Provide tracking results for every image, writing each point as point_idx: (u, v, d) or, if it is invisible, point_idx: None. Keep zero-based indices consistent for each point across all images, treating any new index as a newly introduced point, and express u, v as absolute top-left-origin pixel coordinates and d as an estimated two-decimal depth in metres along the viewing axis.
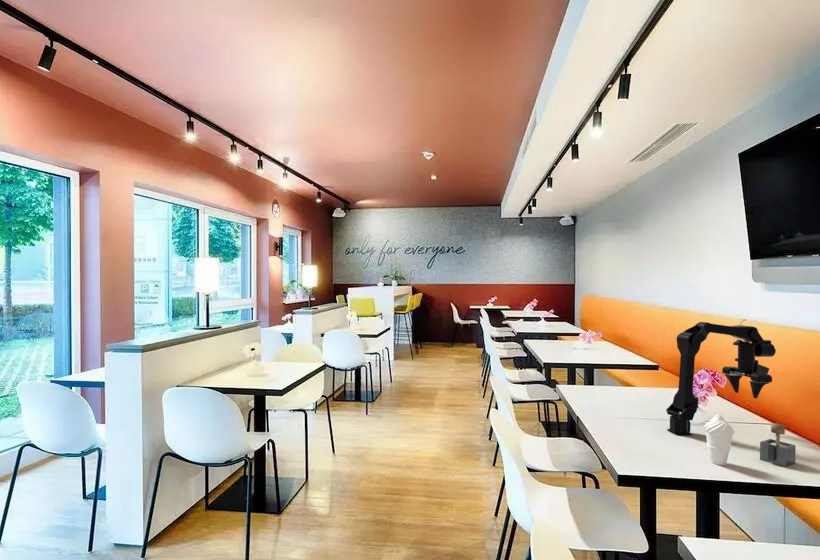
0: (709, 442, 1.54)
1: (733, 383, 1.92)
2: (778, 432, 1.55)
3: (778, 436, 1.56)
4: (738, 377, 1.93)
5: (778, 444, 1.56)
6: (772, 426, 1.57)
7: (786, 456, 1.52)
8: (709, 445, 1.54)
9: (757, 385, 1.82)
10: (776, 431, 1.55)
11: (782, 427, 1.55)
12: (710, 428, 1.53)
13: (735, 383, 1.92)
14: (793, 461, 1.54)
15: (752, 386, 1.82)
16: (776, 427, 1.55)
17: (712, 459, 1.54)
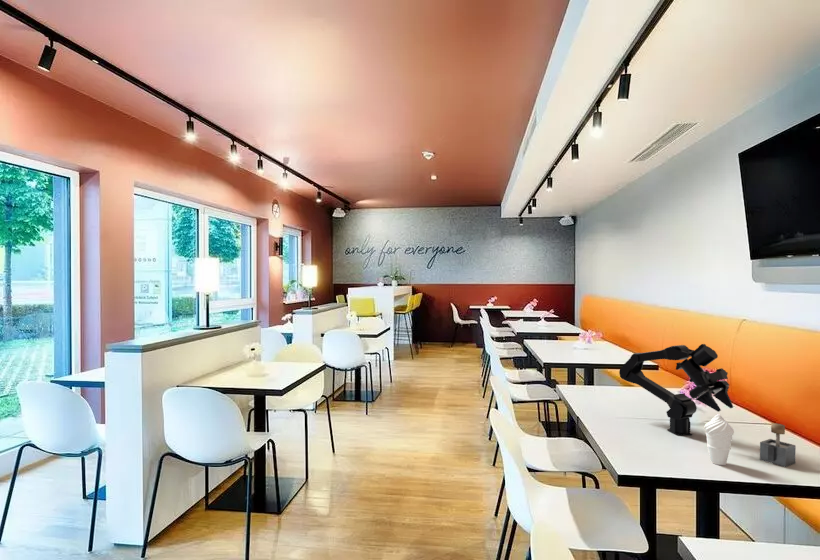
0: (709, 442, 1.54)
1: (721, 400, 1.76)
2: (778, 432, 1.55)
3: (778, 436, 1.56)
4: (722, 391, 1.76)
5: (778, 444, 1.56)
6: (772, 426, 1.57)
7: (786, 456, 1.52)
8: (709, 445, 1.54)
9: (706, 398, 1.71)
10: (776, 431, 1.55)
11: (782, 427, 1.55)
12: (710, 428, 1.53)
13: (723, 399, 1.76)
14: (793, 461, 1.54)
15: None
16: (776, 427, 1.55)
17: (712, 459, 1.54)
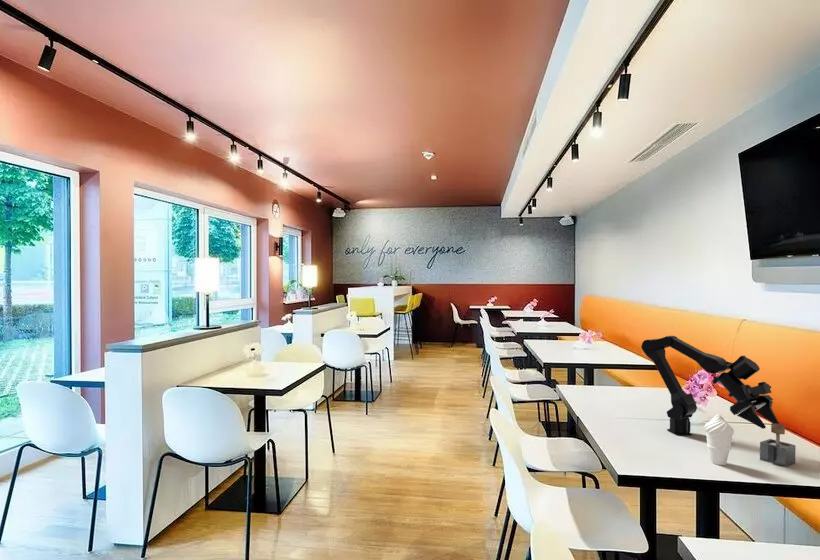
0: (709, 442, 1.54)
1: (765, 416, 1.64)
2: (778, 432, 1.55)
3: (778, 436, 1.56)
4: (766, 406, 1.64)
5: (778, 444, 1.56)
6: (772, 426, 1.57)
7: (786, 456, 1.52)
8: (709, 445, 1.54)
9: (749, 414, 1.59)
10: (776, 431, 1.55)
11: (782, 427, 1.55)
12: (710, 428, 1.53)
13: (767, 415, 1.63)
14: (793, 461, 1.54)
15: None
16: (776, 427, 1.55)
17: (712, 459, 1.54)
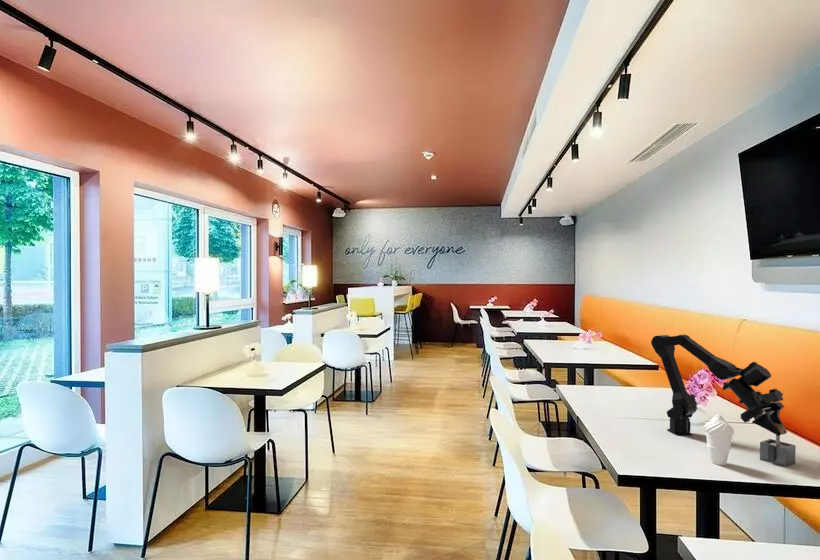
0: (709, 442, 1.54)
1: None
2: None
3: (778, 436, 1.56)
4: (773, 415, 1.60)
5: (778, 444, 1.56)
6: None
7: (786, 456, 1.52)
8: (709, 445, 1.54)
9: (764, 421, 1.57)
10: None
11: (782, 427, 1.55)
12: (710, 428, 1.53)
13: None
14: (793, 461, 1.54)
15: None
16: None
17: (712, 459, 1.54)
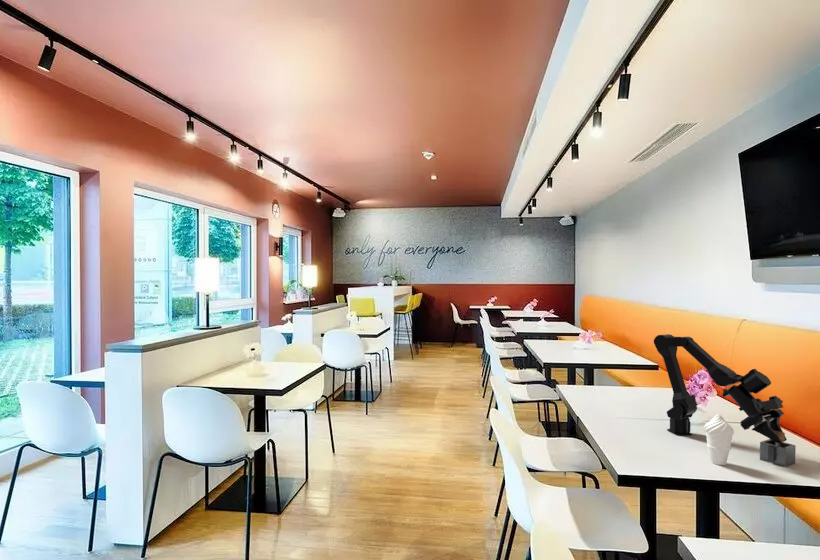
0: (709, 442, 1.54)
1: None
2: None
3: (778, 443, 1.56)
4: (773, 422, 1.60)
5: None
6: None
7: (786, 456, 1.52)
8: (709, 445, 1.54)
9: (764, 428, 1.57)
10: None
11: (782, 434, 1.55)
12: (710, 428, 1.53)
13: None
14: (793, 461, 1.54)
15: None
16: (776, 434, 1.55)
17: (712, 459, 1.54)
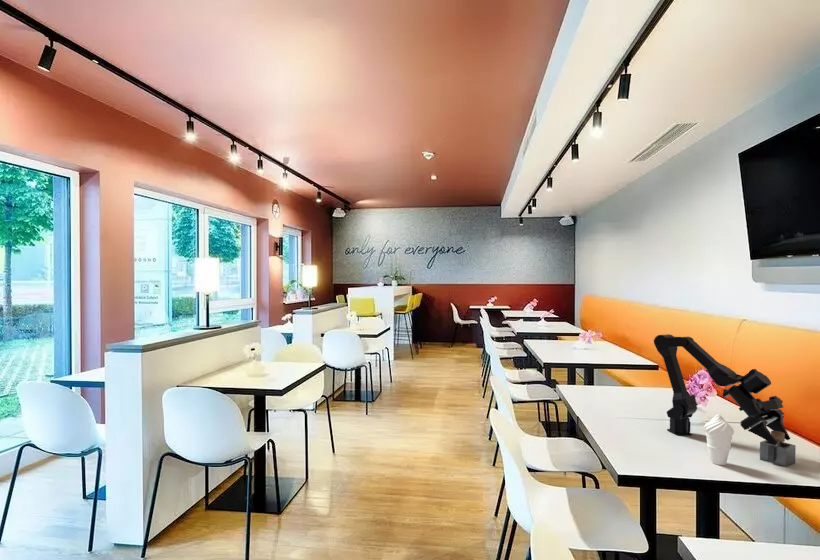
0: (709, 442, 1.54)
1: None
2: (778, 440, 1.55)
3: (778, 443, 1.56)
4: (777, 421, 1.61)
5: None
6: (772, 433, 1.57)
7: (786, 456, 1.52)
8: (709, 445, 1.54)
9: (760, 430, 1.56)
10: (776, 438, 1.55)
11: (782, 435, 1.55)
12: (710, 428, 1.53)
13: (778, 430, 1.60)
14: (793, 461, 1.54)
15: None
16: (776, 434, 1.55)
17: (712, 459, 1.54)
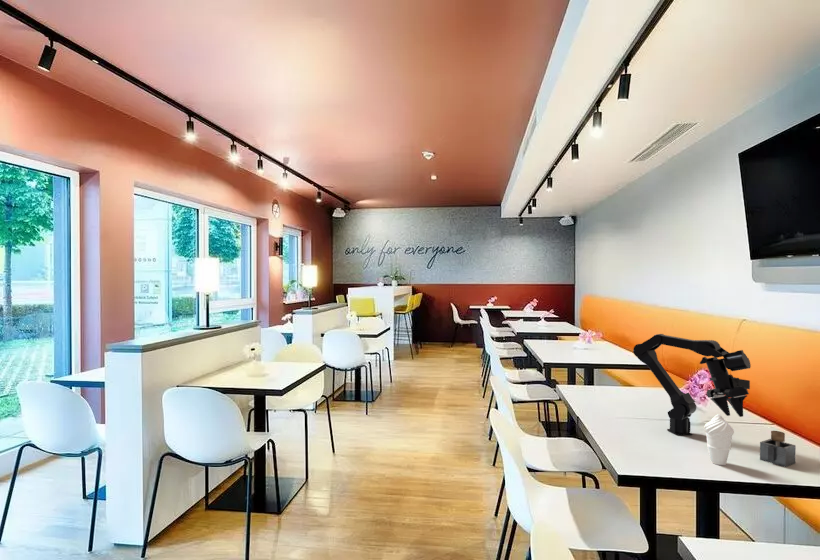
0: (709, 442, 1.54)
1: (720, 406, 1.76)
2: (778, 440, 1.55)
3: (778, 443, 1.56)
4: (724, 398, 1.76)
5: None
6: (772, 433, 1.57)
7: (786, 456, 1.52)
8: (709, 445, 1.54)
9: (736, 401, 1.66)
10: (776, 438, 1.55)
11: (782, 435, 1.55)
12: (710, 428, 1.53)
13: (723, 405, 1.76)
14: (793, 461, 1.54)
15: (731, 403, 1.66)
16: (776, 434, 1.55)
17: (712, 459, 1.54)
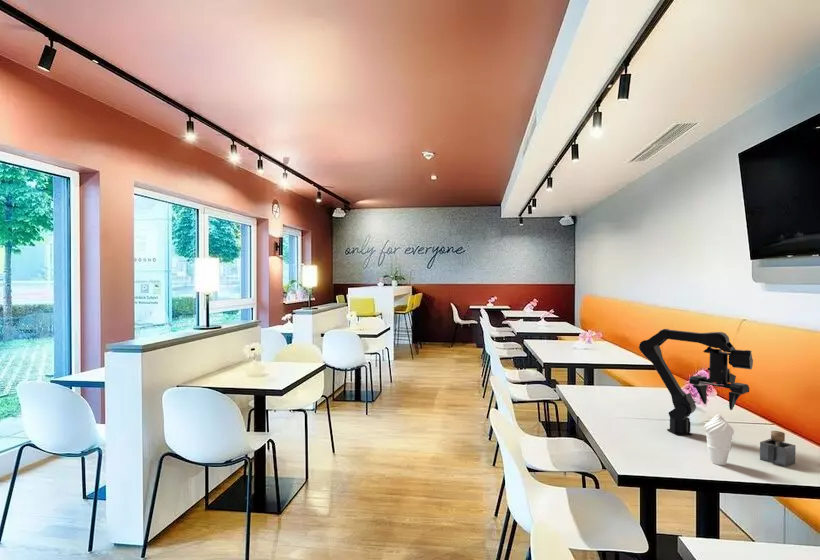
0: (709, 442, 1.54)
1: (702, 394, 1.79)
2: (778, 440, 1.55)
3: (778, 443, 1.56)
4: (705, 387, 1.81)
5: None
6: (772, 433, 1.57)
7: (786, 456, 1.52)
8: (709, 445, 1.54)
9: (734, 396, 1.71)
10: (776, 438, 1.55)
11: (782, 435, 1.55)
12: (710, 428, 1.53)
13: (704, 394, 1.80)
14: (793, 461, 1.54)
15: (731, 397, 1.70)
16: (776, 434, 1.55)
17: (712, 459, 1.54)
